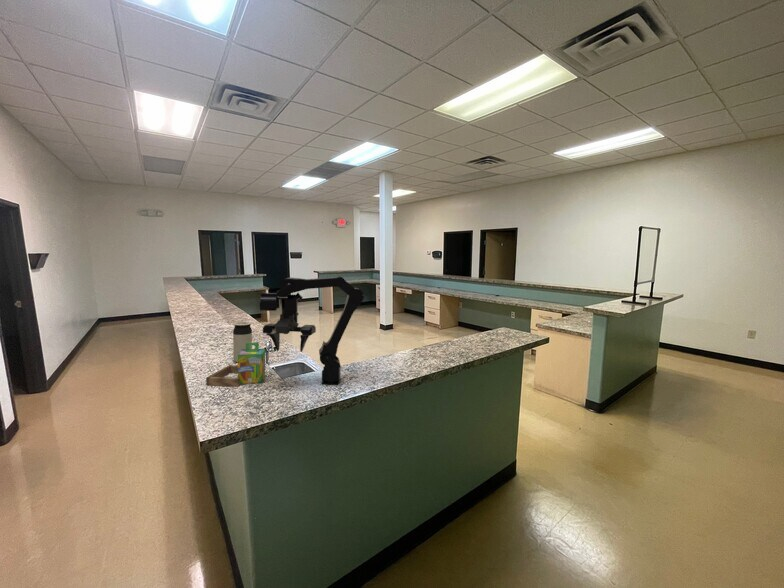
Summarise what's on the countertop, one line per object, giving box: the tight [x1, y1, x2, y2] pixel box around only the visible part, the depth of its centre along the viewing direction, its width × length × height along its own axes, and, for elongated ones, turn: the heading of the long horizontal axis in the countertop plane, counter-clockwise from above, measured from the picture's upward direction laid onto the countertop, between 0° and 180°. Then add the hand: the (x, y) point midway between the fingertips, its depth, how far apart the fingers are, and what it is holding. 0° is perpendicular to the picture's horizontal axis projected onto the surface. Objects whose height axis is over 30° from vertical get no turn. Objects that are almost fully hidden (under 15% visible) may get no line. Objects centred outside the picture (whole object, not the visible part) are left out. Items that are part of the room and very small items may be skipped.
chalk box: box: [237, 342, 266, 385], centre depth 125 cm, size 9×9×15 cm
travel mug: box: [232, 321, 253, 363], centre depth 149 cm, size 8×8×18 cm
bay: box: [205, 364, 241, 388], centre depth 125 cm, size 12×15×3 cm
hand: (289, 351), depth 121 cm, fingers open, 9 cm apart
